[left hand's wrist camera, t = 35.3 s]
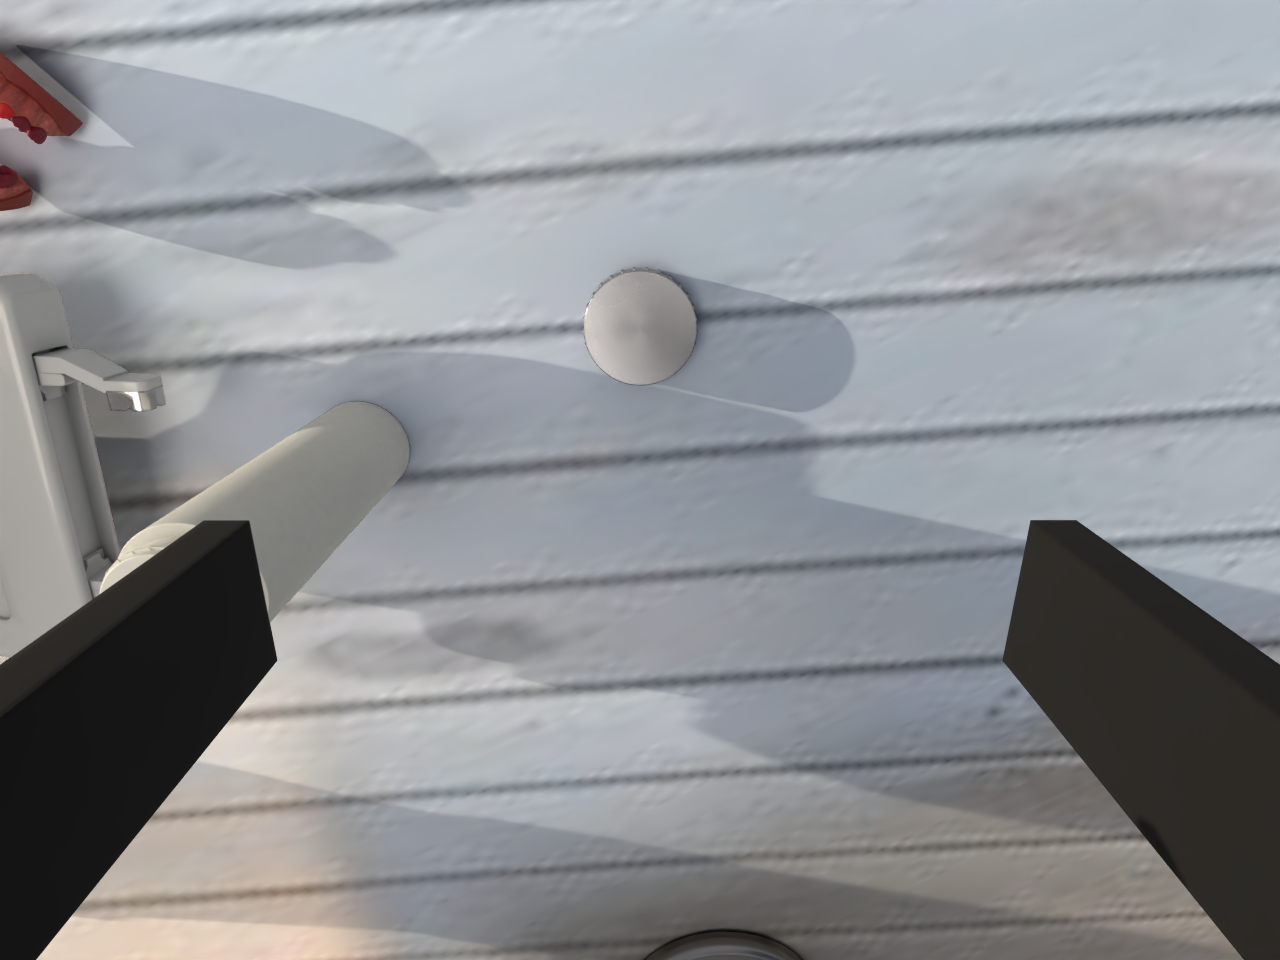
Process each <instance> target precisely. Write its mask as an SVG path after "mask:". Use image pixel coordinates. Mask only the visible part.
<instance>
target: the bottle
mask: <svg viewBox="0 0 1280 960" xmlns="http://www.w3.org/2000/svg"><path fill="white" fill-rule="evenodd" d="M409 457H410V447H409V441H408V438H407V435H406V433H405V431H404V429H403V427H402V426H401V424H400V423H399V422H398V420H397V419H396V418H395V417H394V416H393V415H391V414H390V413H389V412H387V411H386V410H384V409H383V408H381V407H379V406H377V405H374V404H371V403H367V402H359V401H354V402H346V403H343V404H340V405H337V406H335V407H334V408H332V409H330V410H329V411H327V412H326V413H324V414H323V415H321V416H320V417H318V418H316V419H315V420H313V421H312V422H310V423H309V424H307V425H306V426H304V427H302V428H301V429H299V430H298V431H296V432H295V433H293V434H292V435H290V436H288V437H287V438H285V439H284V440H282V441H281V442H279V443H278V444H276V445H274V446H273V447H271V448H270V449H268V450H267V451H265V452H264V453H262V454H260V455H259V456H257V457H256V458H254V459H253V460H251V461H249V462H248V463H246V464H245V465H243V466H242V467H240V468H239V469H237V470H235V471H234V472H232V473H231V474H229V475H228V476H226V477H225V478H223V479H221V480H220V481H218V482H217V483H215V484H214V485H212V486H211V487H209V488H207V489H206V490H204V491H203V492H201V493H200V494H198V495H197V496H195V497H193V498H192V499H190V500H189V501H187V502H186V503H184V504H183V505H181V506H179V507H178V508H176V509H175V510H173V511H172V512H170V513H169V514H167V515H165V516H164V517H162V518H161V519H159V520H158V521H156V522H154V523H153V524H151V525H150V526H148V527H147V528H145V529H144V530H142V531H141V532H139V533H138V534H136V535H135V536H133V537H132V538H131V539H130V540H129V541H128V542H127V543H126V545H125V546H124V547H123V549H122V551H121V553H120V555H119V557H118V559H117V560H116V561H115V563H114V564H113V565H112V566H111V567H110V568H109V569H108V571H106V574H105V576H104V579H103V582H102V584H101V586H100V594H101V593H102V592H103V591H105V590H106V589H108V588H109V587H110V586H112V585H113V584H115V583H116V582H118V581H119V580H120V579H122V578H123V577H125V576H126V575H127V574H129V573H130V572H132V571H133V570H134V569H136V568H137V567H139V566H140V565H141V564H143V563H144V562H146V561H147V560H149V559H150V558H151V557H153V556H154V555H156V554H157V553H158V552H160V551H161V550H163V549H164V548H165V547H167V546H168V545H170V544H171V543H173V542H174V541H175V540H177V539H178V538H180V537H181V536H182V535H184V534H185V533H187V532H188V531H189V530H191V529H192V528H194V527H195V526H196V525H198V524H199V523H201V522H202V521H204V520H249V521H250V526H251V531H252V536H253V541H254V546H255V551H256V556H257V561H258V566H259V571H260V576H261V581H262V586H263V591H264V596H265V601H266V606H267V611H268V616H269V621H270V622H271V621H272V620H273V619H274V618H275V616H276V615H277V614H278V613H279V612H280V611H281V610H282V609H283V608H284V606H285V605H286V604H287V603H288V602H289V601H290V600H291V599H292V597H293V596H294V595H295V594H296V593H297V592H298V591H299V590H300V589H301V587H302V586H303V585H304V584H305V583H306V582H307V581H308V580H309V579H310V577H311V576H312V575H313V574H314V573H315V572H316V571H317V570H318V569H319V567H320V566H321V565H322V564H323V563H324V562H325V561H326V560H327V559H328V557H329V556H330V555H331V554H332V553H333V552H334V551H335V550H336V549H337V547H338V546H339V545H340V544H341V543H342V542H343V541H344V540H345V539H346V537H347V536H348V535H349V534H350V533H351V532H352V531H353V530H354V528H355V527H356V526H357V525H358V524H359V523H360V522H361V521H362V520H363V518H364V517H365V516H366V515H367V514H368V513H369V512H370V511H371V510H372V508H373V507H374V506H375V505H376V504H377V503H378V502H379V501H380V500H381V498H382V497H383V496H384V495H385V494H386V493H387V492H388V491H389V490H390V488H391V487H392V486H393V485H394V484H395V483H396V482H397V481H398V480H399V478H400V477H401V476H402V475H403V473H404V472H405V470H406V468H407V466H408V462H409Z"/></svg>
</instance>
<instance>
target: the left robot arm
mask: <svg viewBox="0 0 1280 960" xmlns="http://www.w3.org/2000/svg"><path fill="white" fill-rule="evenodd" d="M276 662H277V656H276V651H275V646H274V641H273V636H272V631H271V626H270V621H269V616H268V611H267V606H266V601H265V596H264V591H263V586H262V581H261V576H260V571H259V566H258V561H257V556H256V551H255V546H254V541H253V536H252V531H251V526H250V521H249V520H204V521H202V522H201V523H199V524H198V525H196V526H195V527H194V528H192V529H191V530H189V531H188V532H187V533H185V534H184V535H182V536H181V537H180V538H178V539H177V540H175V541H174V542H173V543H171V544H170V545H168V546H167V547H165V548H164V549H163V550H161V551H160V552H158V553H157V554H156V555H154V556H153V557H151V558H150V559H149V560H147V561H146V562H144V563H143V564H141V565H140V566H139V567H137V568H136V569H134V570H133V571H132V572H130V573H129V574H127V575H126V576H125V577H123V578H122V579H120V580H119V581H118V582H116V583H115V584H113V585H112V586H110V587H109V588H108V589H106V590H105V591H103V592H102V593H101V594H99V595H98V596H96V597H95V598H94V599H92V600H91V601H89V602H88V603H87V604H85V605H84V606H82V607H81V608H79V609H78V610H77V611H75V612H74V613H72V614H71V615H70V616H68V617H67V618H65V619H64V620H63V621H61V622H60V623H58V624H57V625H56V626H54V627H53V628H51V629H50V630H48V631H47V632H46V633H44V634H43V635H41V636H40V637H39V638H37V639H36V640H34V641H33V642H32V643H30V644H29V645H27V646H26V647H25V648H23V649H22V650H20V651H19V652H17V653H16V654H15V655H13V656H12V657H10V658H9V659H8V660H6V661H5V662H3V663H2V664H1V665H0V960H36V959H37V958H38V957H39V955H40V954H41V953H42V952H43V950H44V949H45V948H46V947H47V945H48V944H49V943H50V942H51V941H52V939H53V938H54V937H55V936H56V934H57V933H58V932H59V931H60V929H61V928H62V927H63V926H64V924H65V923H66V922H67V921H68V919H69V918H70V917H71V916H72V914H73V913H74V912H75V911H76V910H77V908H78V907H79V906H80V905H81V903H82V902H83V901H84V900H85V898H86V897H87V896H88V895H89V893H90V892H91V891H92V890H93V888H94V887H95V886H96V885H97V883H98V882H99V881H100V880H101V879H102V877H103V876H104V875H105V874H106V872H107V871H108V870H109V869H110V867H111V866H112V865H113V864H114V862H115V861H116V860H117V859H118V857H119V856H120V855H121V854H122V852H123V851H124V850H125V849H126V848H127V846H128V845H129V844H130V843H131V841H132V840H133V839H134V838H135V836H136V835H137V834H138V833H139V831H140V830H141V829H142V828H143V826H144V825H145V824H146V823H147V821H148V820H149V819H150V818H151V817H152V815H153V814H154V813H155V812H156V810H157V809H158V808H159V807H160V805H161V804H162V803H163V802H164V800H165V799H166V798H167V797H168V795H169V794H170V793H171V792H172V790H173V789H174V788H175V787H176V786H177V784H178V783H179V782H180V781H181V779H182V778H183V777H184V776H185V774H186V773H187V772H188V771H189V769H190V768H191V767H192V766H193V764H194V763H195V762H196V761H197V759H198V758H199V757H200V756H201V755H202V753H203V752H204V751H205V750H206V748H207V747H208V746H209V745H210V743H211V742H212V741H213V740H214V738H215V737H216V736H217V735H218V733H219V732H220V731H221V730H222V728H223V727H224V726H225V725H226V724H227V722H228V721H229V720H230V719H231V717H232V716H233V715H234V714H235V712H236V711H237V710H238V709H239V707H240V706H241V705H242V704H243V702H244V701H245V700H246V699H247V697H248V696H249V695H250V694H251V693H252V691H253V690H254V689H255V688H256V686H257V685H258V684H259V683H260V681H261V680H262V679H263V678H264V676H265V675H266V674H267V673H268V671H269V670H270V669H271V668H272V666H273V665H274V664H275V663H276ZM1003 662H1004V663H1005V664H1006V665H1007V666H1008V668H1009V669H1010V670H1011V671H1012V673H1013V674H1014V675H1015V676H1016V678H1017V679H1018V680H1019V681H1020V683H1021V684H1022V685H1023V686H1024V688H1025V689H1026V690H1027V691H1028V693H1029V694H1030V695H1031V696H1032V697H1033V699H1034V700H1035V701H1036V702H1037V704H1038V705H1039V706H1040V707H1041V709H1042V710H1043V711H1044V712H1045V714H1046V715H1047V716H1048V717H1049V719H1050V720H1051V721H1052V722H1053V724H1054V725H1055V726H1056V727H1057V728H1058V730H1059V731H1060V732H1061V733H1062V735H1063V736H1064V737H1065V738H1066V740H1067V741H1068V742H1069V743H1070V745H1071V746H1072V747H1073V748H1074V750H1075V751H1076V752H1077V753H1078V755H1079V756H1080V757H1081V758H1082V759H1083V761H1084V762H1085V763H1086V764H1087V766H1088V767H1089V768H1090V769H1091V771H1092V772H1093V773H1094V774H1095V776H1096V777H1097V778H1098V779H1099V781H1100V782H1101V783H1102V784H1103V786H1104V787H1105V788H1106V789H1107V790H1108V792H1109V793H1110V794H1111V795H1112V797H1113V798H1114V799H1115V800H1116V802H1117V803H1118V804H1119V805H1120V807H1121V808H1122V809H1123V810H1124V812H1125V813H1126V814H1127V815H1128V817H1129V818H1130V819H1131V820H1132V821H1133V823H1134V824H1135V825H1136V826H1137V828H1138V829H1139V830H1140V831H1141V833H1142V834H1143V835H1144V836H1145V838H1146V839H1147V840H1148V841H1149V843H1150V844H1151V845H1152V846H1153V848H1154V849H1155V850H1156V851H1157V852H1158V854H1159V855H1160V856H1161V857H1162V859H1163V860H1164V861H1165V862H1166V864H1167V865H1168V866H1169V867H1170V869H1171V870H1172V871H1173V872H1174V874H1175V875H1176V876H1177V877H1178V879H1179V880H1180V881H1181V882H1182V883H1183V885H1184V886H1185V887H1186V888H1187V890H1188V891H1189V892H1190V893H1191V895H1192V896H1193V897H1194V898H1195V900H1196V901H1197V902H1198V903H1199V905H1200V906H1201V907H1202V908H1203V910H1204V911H1205V912H1206V913H1207V914H1208V916H1209V917H1210V918H1211V919H1212V921H1213V922H1214V923H1215V924H1216V926H1217V927H1218V928H1219V929H1220V931H1221V932H1222V933H1223V934H1224V936H1225V937H1226V938H1227V939H1228V941H1229V942H1230V943H1231V944H1232V945H1233V947H1234V948H1235V949H1236V950H1237V952H1238V953H1239V954H1240V955H1241V957H1242V958H1243V959H1244V960H1280V665H1279V664H1278V663H1277V662H1275V661H1274V660H1272V659H1271V658H1270V657H1268V656H1267V655H1265V654H1264V653H1263V652H1261V651H1260V650H1258V649H1257V648H1255V647H1254V646H1253V645H1251V644H1250V643H1248V642H1247V641H1246V640H1244V639H1243V638H1241V637H1240V636H1239V635H1237V634H1236V633H1234V632H1233V631H1232V630H1230V629H1229V628H1227V627H1226V626H1224V625H1223V624H1222V623H1220V622H1219V621H1217V620H1216V619H1215V618H1213V617H1212V616H1210V615H1209V614H1208V613H1206V612H1205V611H1203V610H1202V609H1201V608H1199V607H1198V606H1196V605H1195V604H1193V603H1192V602H1191V601H1189V600H1188V599H1186V598H1185V597H1184V596H1182V595H1181V594H1179V593H1178V592H1177V591H1175V590H1174V589H1172V588H1171V587H1170V586H1168V585H1167V584H1165V583H1164V582H1162V581H1161V580H1160V579H1158V578H1157V577H1155V576H1154V575H1153V574H1151V573H1150V572H1148V571H1147V570H1146V569H1144V568H1143V567H1141V566H1140V565H1138V564H1137V563H1136V562H1134V561H1133V560H1131V559H1130V558H1129V557H1127V556H1126V555H1124V554H1123V553H1122V552H1120V551H1119V550H1117V549H1116V548H1115V547H1113V546H1112V545H1110V544H1109V543H1107V542H1106V541H1105V540H1103V539H1102V538H1100V537H1099V536H1098V535H1096V534H1095V533H1093V532H1092V531H1091V530H1089V529H1088V528H1086V527H1085V526H1084V525H1082V524H1081V523H1079V522H1078V521H1076V520H1031V521H1030V526H1029V531H1028V536H1027V541H1026V546H1025V551H1024V556H1023V561H1022V566H1021V571H1020V576H1019V581H1018V586H1017V591H1016V596H1015V601H1014V606H1013V611H1012V616H1011V621H1010V626H1009V631H1008V636H1007V641H1006V646H1005V651H1004V656H1003ZM646 960H801V959H800V958H799V957H798V956H797V955H796V954H795V953H794V952H792V951H791V950H789V949H788V948H786V947H785V946H783V945H781V944H779V943H777V942H775V941H772V940H770V939H767V938H764V937H761V936H757V935H753V934H748V933H740V932H710V933H703V934H697V935H693V936H689V937H686V938H683V939H680V940H677V941H675V942H672V943H670V944H668V945H666V946H664V947H662V948H661V949H659V950H657V951H656V952H655V953H653V954H652V955H651V956H649V957H648V958H647V959H646Z"/></svg>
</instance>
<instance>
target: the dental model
mask: <svg viewBox="0 0 1280 960" xmlns="http://www.w3.org/2000/svg"><path fill="white" fill-rule="evenodd" d="M0 118H4V119H8V120H10V121H12V122H13V124H14V126H15V127H18V128H19V131H21V132H26V133H27V135H28V136H29V137H30V138H31V140H34V142H35V143H37V144H42V143H43V142H44V141H45V140H46V137H47V136H70V135H72V134H73V133H74V132H75V131H76V130H77V129H78V128H79V127H80V126H81V125H82V124H83V123H82V122H81V121H80V120H79V119H78V118H77V117H76V116H75V115H74V114H72V113H71V112H70V111H69V110H68V109H66V108H65V107H64V106H63V105H62V104H61V103H59V102H58V101H57V100H56V99H55V98H54V97H52V96H51V95H50V94H49V93H48V92H47V91H45V90H44V89H43V88H42V87H41V86H39V85H38V84H37V83H36V82H35V81H34V80H32V79H31V78H30V77H29V76H28V75H27V74H25V73H24V72H23V71H22V70H21V69H20V68H18V67H17V66H16V65H15V64H14V63H12V62H11V61H10V60H9V59H8V58H7V57H5V56H4V55H3V54H2V53H1V52H0ZM32 193H33V191H32V190H31V189H30V186H29V185H28V184H27V183H26V182H25V181H24V180H23V179H22V178H21V177H20V176H19V175H18V174H17V172H15V171H14V170H11V169H10V168H8V167H7V166H4V165H2V166H0V211H5V210H13V209H18V208H22V207H26V206H29V205H30V202H31V198H32Z"/></svg>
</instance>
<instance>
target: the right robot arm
mask: <svg viewBox="0 0 1280 960" xmlns="http://www.w3.org/2000/svg"><path fill="white" fill-rule="evenodd" d="M81 382H82V383H84V384H86V385H88V386H90V387H92V388H94V389H96V390H98V391H101V392H103V393H105V394H107V398H108V402H109V406H110V410H115V411H125V410H128V409H131V410H133V411H148V410H153V409H155V408H156V407H157V406H163V405H165V404H166V402H165V397H164V391H163V385H162V381H161V375H159V374H143V373H128V371H127V370H126V369H124V368H122V367H121V366H119V365H117V364H115V363H114V362H112V361H110V360H109V359H107V358H105V357H103V356H102V355H100V354H98V353H96V352H95V351H93V350H91V349H74V348H73V344H72V339H71V335H70V331H69V326H68V322H67V318H66V313H65V308H64V304H63V299H62V296H61V293H60V291H59V290H58V289H57V288H56V287H54V286H53V285H52V284H50V283H49V282H47V281H46V280H45V279H43V278H42V277H40V276H38V275H37V274H35V273H0V656H4V657H12V656H13V655H15V654H16V653H17V652H19V651H20V650H22V649H23V648H25V647H26V646H27V645H29V644H30V643H32V642H33V641H34V640H36V639H37V638H39V637H40V636H41V635H43V634H44V633H46V632H47V631H48V630H50V629H51V628H53V627H54V626H56V625H57V624H58V623H60V622H61V621H63V620H64V619H65V618H67V617H68V616H70V615H71V614H72V613H74V612H75V611H77V610H78V609H79V608H81V607H82V606H84V605H85V604H87V603H88V602H89V601H91V600H92V599H94V598H95V597H96V596H98V595H99V594H100V586H101V584H102V582H103V579H104V576H105V574H106V571H108V569H109V568H110V567H111V566H112V565H113V564H114V563H115V561H116V560H117V559H118V557H119V555H120V553H121V552H120V548H119V543H118V539H117V535H116V530H115V526H114V522H113V518H112V513H111V509H110V505H109V500H108V496H107V491H106V487H105V483H104V478H103V474H102V470H101V465H100V461H99V457H98V452H97V448H96V444H95V439H94V435H93V431H92V426H91V422H90V418H89V413H88V409H87V405H86V400H85V396H84V392H83V387H82V383H81Z"/></svg>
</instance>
